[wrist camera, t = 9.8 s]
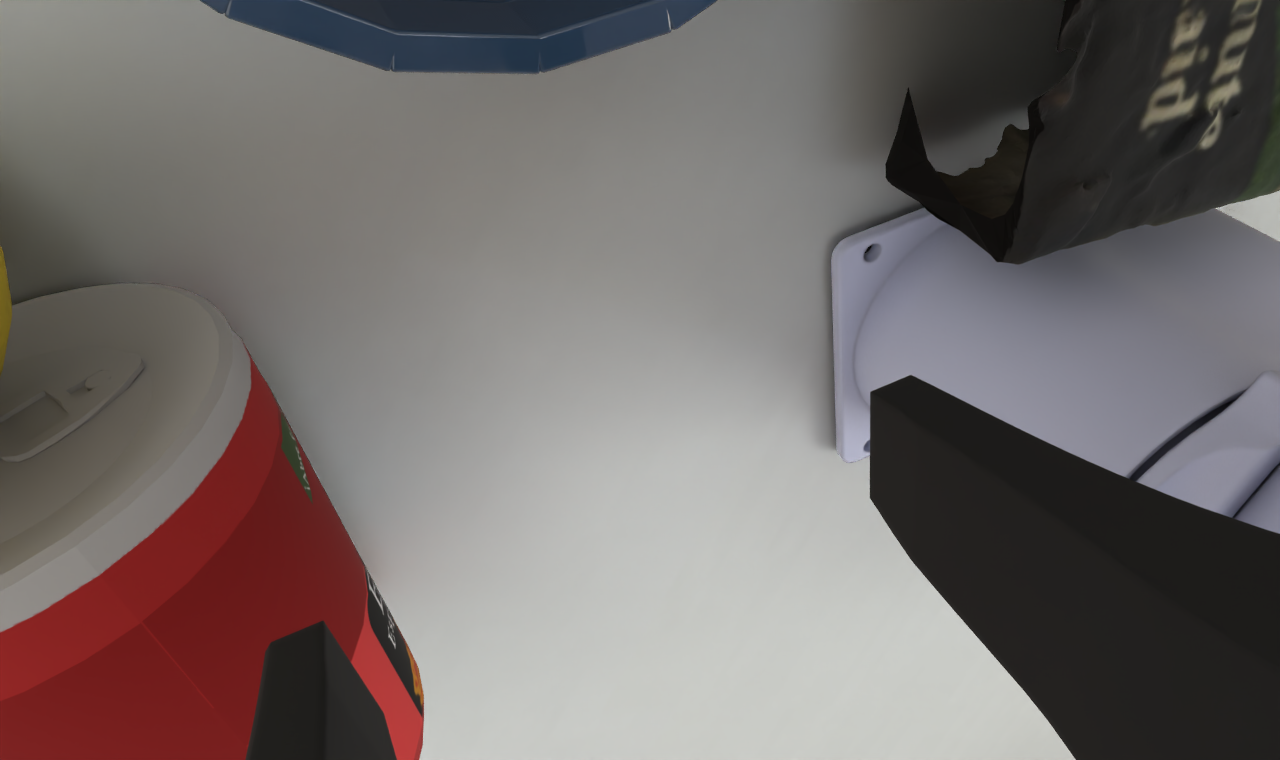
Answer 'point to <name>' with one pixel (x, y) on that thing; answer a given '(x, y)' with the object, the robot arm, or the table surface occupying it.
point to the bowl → (465, 30)
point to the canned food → (162, 538)
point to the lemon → (4, 309)
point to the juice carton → (1121, 130)
